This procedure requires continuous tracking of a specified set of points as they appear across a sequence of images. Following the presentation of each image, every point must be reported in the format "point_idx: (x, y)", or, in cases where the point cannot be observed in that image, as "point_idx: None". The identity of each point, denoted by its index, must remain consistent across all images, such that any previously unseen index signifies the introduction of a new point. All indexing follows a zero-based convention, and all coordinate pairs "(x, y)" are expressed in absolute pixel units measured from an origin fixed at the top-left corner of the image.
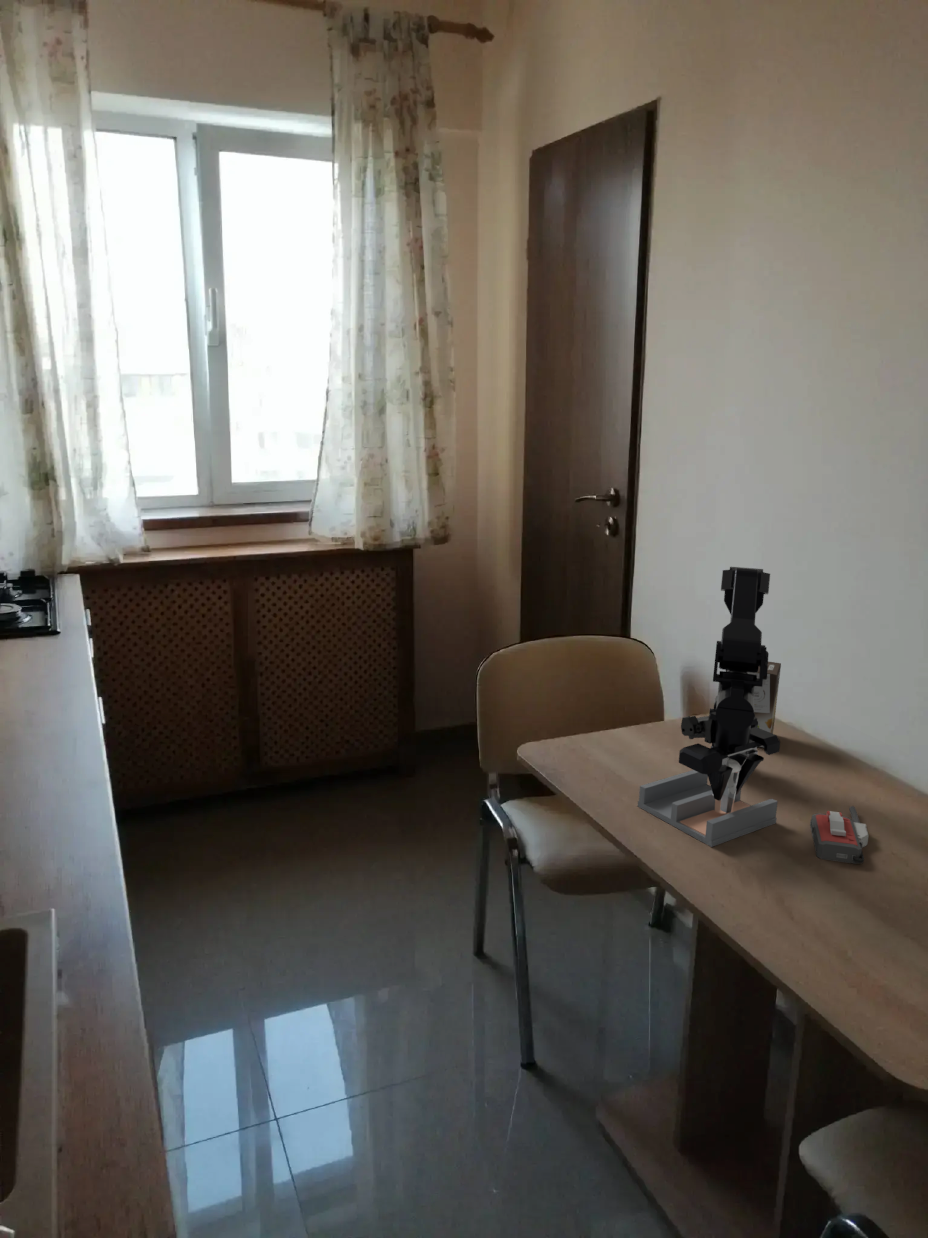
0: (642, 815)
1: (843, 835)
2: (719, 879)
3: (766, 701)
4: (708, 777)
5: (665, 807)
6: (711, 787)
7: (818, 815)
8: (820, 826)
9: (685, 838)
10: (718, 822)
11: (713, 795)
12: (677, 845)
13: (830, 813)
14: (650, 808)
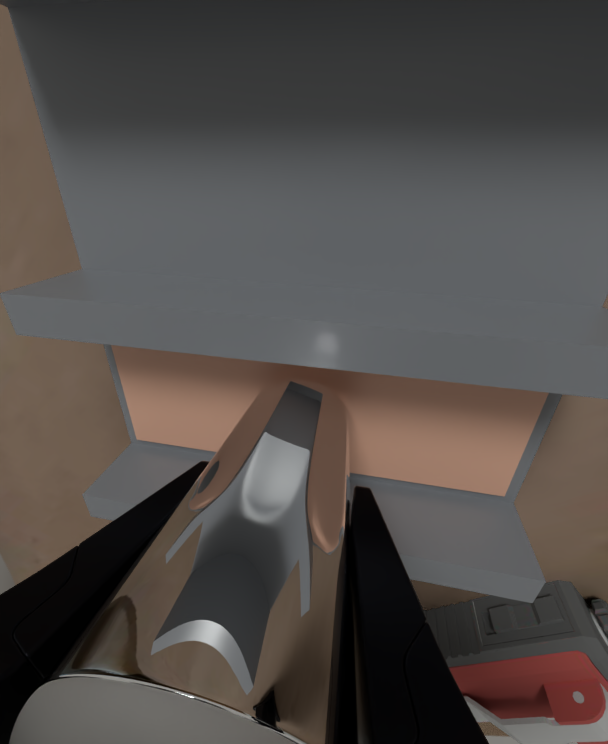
0: (13, 93)
1: None
2: (79, 527)
3: None
4: (39, 574)
5: (120, 144)
6: (136, 508)
7: (580, 661)
8: (484, 670)
9: (103, 372)
10: None
11: (187, 471)
12: (54, 383)
13: (571, 725)
14: (34, 92)
